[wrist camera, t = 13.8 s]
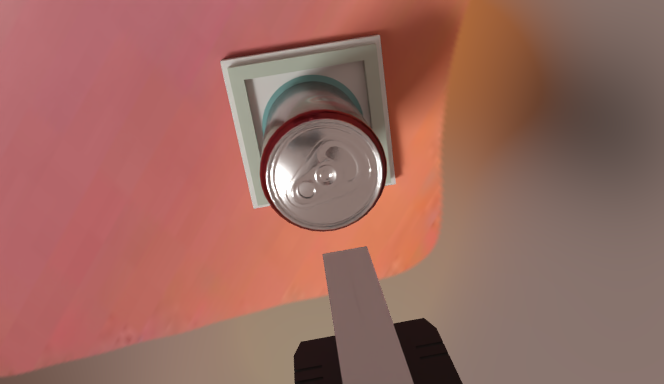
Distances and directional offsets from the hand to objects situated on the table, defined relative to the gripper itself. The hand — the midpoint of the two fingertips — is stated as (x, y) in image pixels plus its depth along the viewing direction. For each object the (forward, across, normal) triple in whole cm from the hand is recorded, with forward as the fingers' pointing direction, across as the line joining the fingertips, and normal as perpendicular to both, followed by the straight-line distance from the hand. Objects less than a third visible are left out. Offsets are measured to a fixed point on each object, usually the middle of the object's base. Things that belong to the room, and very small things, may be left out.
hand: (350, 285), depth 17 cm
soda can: (+23, 0, 0) cm, 23 cm away
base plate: (+24, 0, 0) cm, 24 cm away
